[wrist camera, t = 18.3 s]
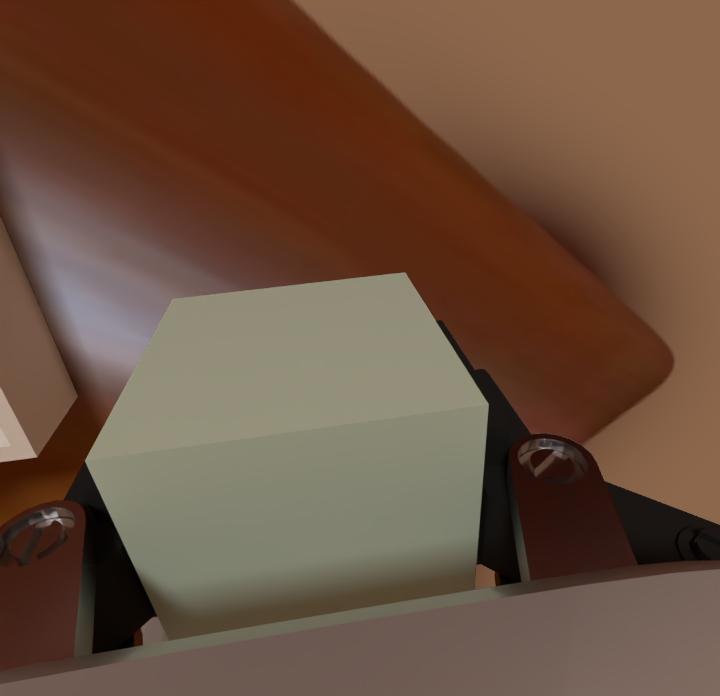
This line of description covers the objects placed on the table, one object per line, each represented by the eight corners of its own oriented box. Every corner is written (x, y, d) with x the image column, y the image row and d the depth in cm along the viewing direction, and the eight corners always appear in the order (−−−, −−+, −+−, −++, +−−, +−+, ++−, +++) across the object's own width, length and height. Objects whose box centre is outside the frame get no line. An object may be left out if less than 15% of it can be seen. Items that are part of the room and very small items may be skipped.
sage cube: (409, 447, 13) (470, 630, 9) (222, 474, 12) (187, 681, 8) (405, 272, 10) (488, 404, 6) (172, 299, 10) (84, 460, 6)
